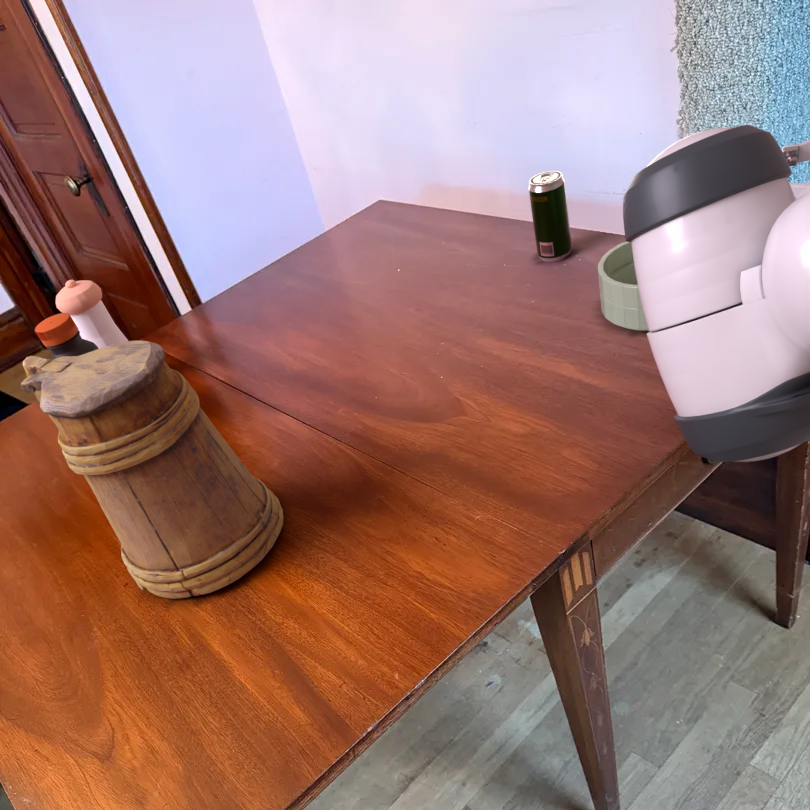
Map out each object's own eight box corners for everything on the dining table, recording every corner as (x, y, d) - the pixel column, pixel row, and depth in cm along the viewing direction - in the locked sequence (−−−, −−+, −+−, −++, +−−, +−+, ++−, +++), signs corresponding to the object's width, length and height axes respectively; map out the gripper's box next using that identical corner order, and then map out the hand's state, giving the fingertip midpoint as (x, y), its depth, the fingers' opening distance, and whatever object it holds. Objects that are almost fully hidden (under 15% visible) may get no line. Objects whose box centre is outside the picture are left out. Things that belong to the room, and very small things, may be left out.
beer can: (567, 261, 117) (558, 183, 109) (534, 264, 119) (523, 187, 111) (575, 245, 120) (567, 168, 112) (543, 248, 122) (532, 172, 114)
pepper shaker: (103, 400, 124) (36, 293, 111) (131, 375, 128) (70, 269, 115) (133, 402, 120) (67, 293, 108) (161, 377, 124) (101, 268, 112)
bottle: (136, 423, 115) (64, 305, 102) (157, 435, 111) (84, 313, 97) (99, 448, 112) (19, 330, 99) (119, 462, 108) (38, 340, 95)
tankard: (230, 615, 79) (107, 424, 62) (79, 583, 90) (-60, 413, 73) (312, 500, 89) (225, 311, 73) (168, 484, 100) (64, 316, 84)
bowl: (748, 290, 98) (751, 242, 93) (665, 346, 93) (664, 298, 89) (656, 266, 108) (654, 222, 104) (578, 315, 104) (573, 271, 100)
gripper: (920, 238, 71) (760, 246, 77) (922, 152, 83) (783, 166, 89) (934, 169, 67) (764, 184, 73) (934, 89, 79) (788, 109, 85)
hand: (775, 174), depth 81 cm, fingers open, 8 cm apart
